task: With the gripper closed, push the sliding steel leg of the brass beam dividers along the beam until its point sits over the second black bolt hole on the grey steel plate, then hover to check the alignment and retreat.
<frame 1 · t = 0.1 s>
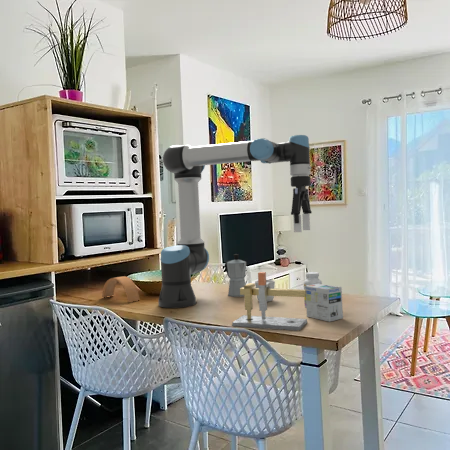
hand: (302, 231, 177), 28 cm above the table, tool pointing down, fingers open, 13 cm apart
supplement bottle: (313, 307, 170), on the table
cup: (265, 302, 184), on the table
bolt plate: (269, 324, 148), on the table
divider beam: (271, 302, 149), on the bolt plate, point 7 cm above the table
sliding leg: (264, 294, 150), point 9 cm above the table, slide at 0.0 cm
light bulb box: (324, 318, 154), on the table
arch: (120, 300, 202), on the table
coffee maker: (236, 295, 201), on the table
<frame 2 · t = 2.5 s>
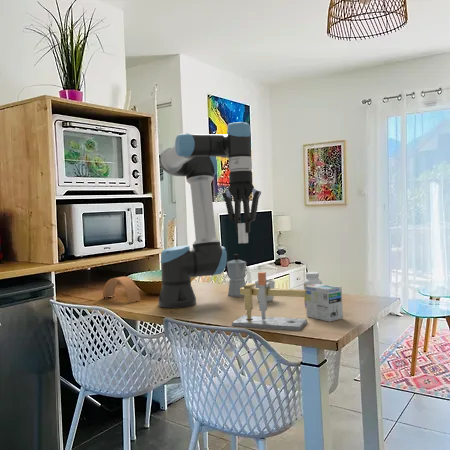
hand: (243, 242, 150), 26 cm above the table, tool pointing down, fingers closed
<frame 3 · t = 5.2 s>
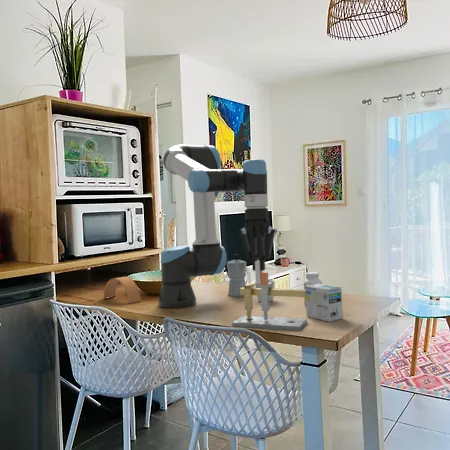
hand: (259, 280, 148), 14 cm above the table, tool pointing down, fingers closed
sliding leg: (266, 295, 150), point 9 cm above the table, slide at 0.8 cm, touching gripper
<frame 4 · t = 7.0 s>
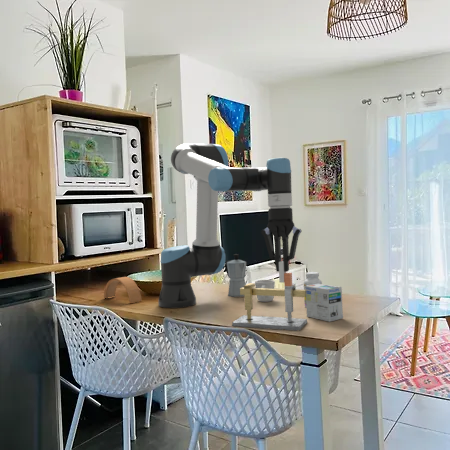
hand: (282, 281, 145), 14 cm above the table, tool pointing down, fingers closed
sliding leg: (290, 295, 147), point 9 cm above the table, slide at 8.7 cm, touching gripper
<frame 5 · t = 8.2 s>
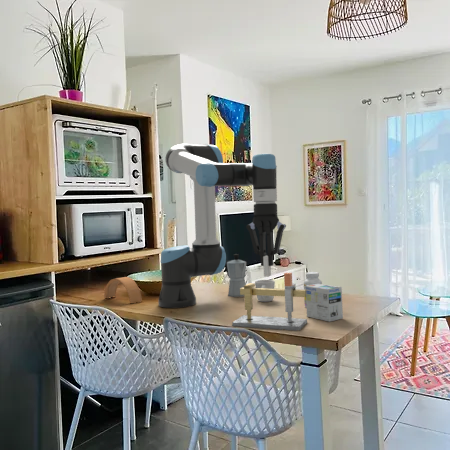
hand: (267, 275, 148), 16 cm above the table, tool pointing down, fingers closed
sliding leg: (290, 295, 147), point 9 cm above the table, slide at 8.7 cm
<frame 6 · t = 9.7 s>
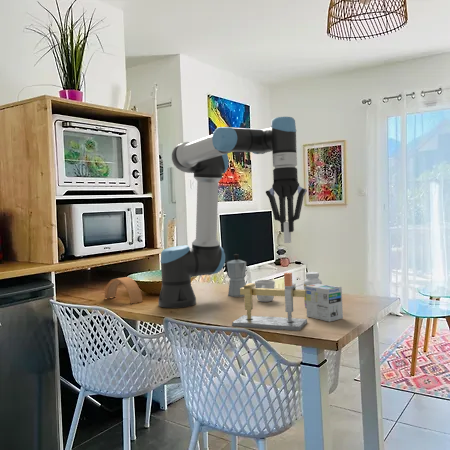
hand: (287, 242, 144), 26 cm above the table, tool pointing down, fingers closed
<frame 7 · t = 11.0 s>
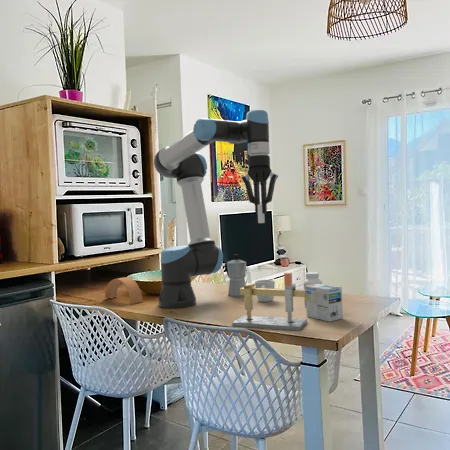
hand: (261, 222, 161), 32 cm above the table, tool pointing down, fingers closed
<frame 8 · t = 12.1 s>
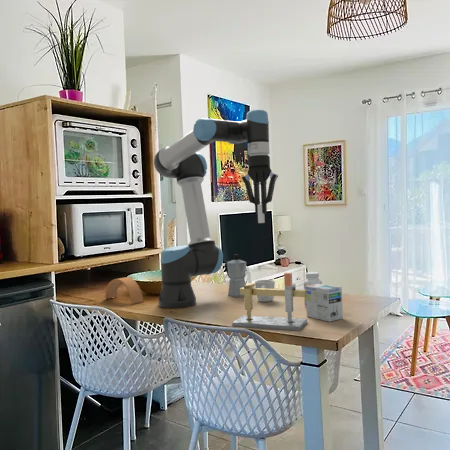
hand: (261, 222, 161), 32 cm above the table, tool pointing down, fingers closed
at the end: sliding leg slide at 8.7 cm; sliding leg touching nothing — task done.
